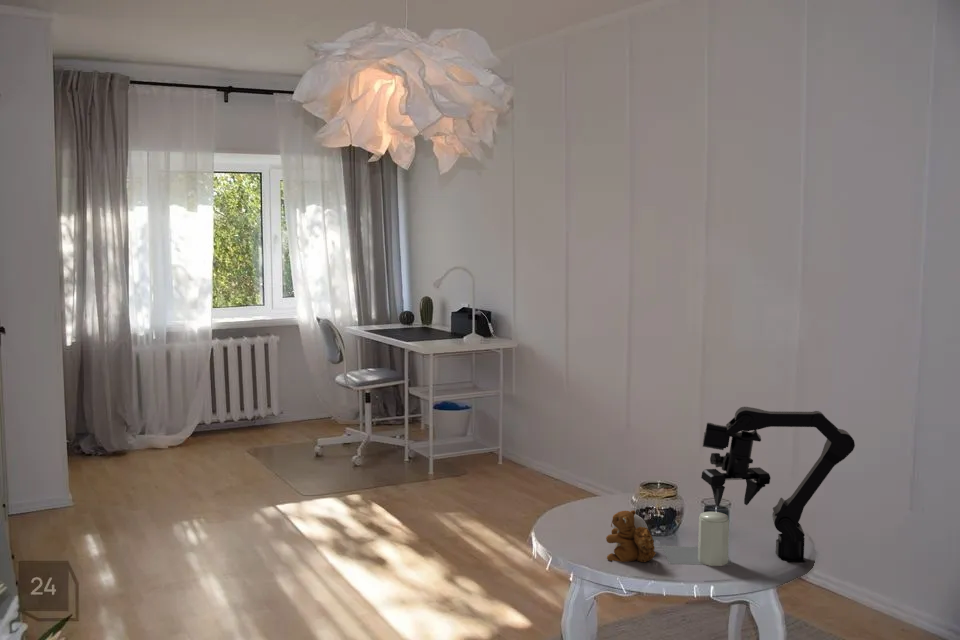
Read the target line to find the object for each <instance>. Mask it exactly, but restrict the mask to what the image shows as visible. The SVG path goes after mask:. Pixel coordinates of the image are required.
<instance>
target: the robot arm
mask: <svg viewBox="0 0 960 640" xmlns="http://www.w3.org/2000/svg"><path fill="white" fill-rule="evenodd" d="M771 427H773V428H775V427H777V428H781V427H782V428H816V429H817V430H818V431H819V433H821V434H822V435H823V436H824V437H825V438H826V440H825V442H824V445H823V448H822V451H821V454H820V456H819V458H818V459H817V460H816V462H815V463H814V464H813V466H812V467H811V469H810V470H809V471H808V472H807V474H806V475H805V477H804V478H803V479H802V481H800V482H801V483H799V485H798V487H796V489H795V490H794V492H793V493H792V494H791V495H790V496H789V497H788V498H787V499H784V498H783V497H779V500H778V502H777V504H776V505H775V506H774V507H772V510H773V512H772V516H771V517H772V522H773V524H774V527H775V529H776V530H777V531H778V532H780V533H777V534H778V535H777V538H778V539H777V538H776V539H775V555H776V556H777V557H778V558H779V559H780V560H781V561H782V562H783V561H784V562H789V563H790V562H792V563H793V562H795V563H797V562H798V563H806V561H807V560H806V558H805V539H806V538H805V533H804V530H803V527H802V525H801V523H800V520H801V517H802V515H803V511H804V508H805V507H806V505H807V504H808V502H809V501H810V500H811V498H813V495H814V494H815V493H816V491H817V490H818V489H819V488H820V486H821V485H822V483H823V482H824V481H825V480H826V478H827V476H828V475H830V473H831V471H832V470H833V469H834V467H835V466H836V465H838V464H839V463H840V462H842V461H843V460H845V459H846V458H847V457H848V456H849V455H850V454H851V453H853V451H854V450H855V446H856V444H855V440H854V439H853V437H852V435H851V434H850V433H849V432H848V431H847V430H845V429H841V428H838V427H837V425H835V424H834V423H832V421H830V420H829V419H828V418H827V417H826V416H825V414H823V412H822V411H821V410H820V411H819V410H813V411H775V410H774V411H772V410H771V411H769V410H764V409H760V408H757V407H750V406H742V407H741V406H740V407H739V408H738V409H737V410H736V411H735V413H734V417H733V418H732V419H731V420H729V422H727V423H726V424H725V425H720V424H716V423H712V422H707V423H706V427H705V431H704V432H703V438H702V439H703V440H702V448H708V449H709V448H710V449H714V450H718V451H719V450H720V451H724V449H727V448H728V447H729V445H730V447H729V451H728V452H726V453H725V455H721V454H720V452H711V453H710V457H709V461H710V464H711V465H714V466H715V468H710V469H709V468H706V469H704V470H703V471H702V472H701V477H700V478H701V479H702V480H703V481H704V482H706V483H707V484H708V485H709V486H710V487H711V491H712V495H713V499H714V504H715V506H716V507H719V506H720V505H721V502H722V499H723V495H724V493H725V489H726V486H724V485H725V484H726V481H738V480H740V481H742V480H744V481H746V488H745V493H744V497H743V498H744V500H743V503H744V505H745V506H748V505H749V503H751V501H752V500H753V499H754V497H755V496H756V495H757V494H758V493H759V492H760V490H762V489H763V488H765V487H766V485H770V484H771V479H772V478H771V474H770V473H769V472H767V471H765V470H764V469H763V468H761V467H758V466H757V467H750V464H753V463H754V459H752V458H751V457H752V451H753V450H752V449H753V447H754V446H753V445H754V441H755V442H761V441H762V438H761V435H760V434H759V432H758V430H762V429H766V428H771ZM730 437H731V441H730ZM716 468H721V470H722V471H725V472H721V471H719V470H718V469H716Z"/></svg>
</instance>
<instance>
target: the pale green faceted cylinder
mask: <svg viewBox="0 0 960 640" xmlns="http://www.w3.org/2000/svg"><path fill="white" fill-rule="evenodd" d="M697 536H698V539H697V542H698V543H697V547H698V560H699V562H700V563H703V564H706V565H705V566H709V567H722V566H726V565H725V564H727V563H728V557H729V546H730V545H729V543H730V542H729V540H730V539H729V537H730V520H729V516H728V515H727V514H725V513H724V512H718V511H704V512H701V513H700V514H699V516H698V535H697Z"/></svg>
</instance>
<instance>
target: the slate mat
mask: <svg viewBox="0 0 960 640" xmlns="http://www.w3.org/2000/svg"><path fill="white" fill-rule="evenodd" d="M661 547H662V550H663V553H664V554H665V557H666V559H667V562H668V565H669V564H670V565H691V566H692V565H693V566H694V565H697V566H699V565H700V566H707V565H706V564H703V563H700V562H699V560H698V546H678V545H675V546H674V545H671V546H668V545H662V546H661ZM724 566H730V567H734V563H733V562H732V560H731V558H730V557H729V556H728V563H727V564H725V565H724Z"/></svg>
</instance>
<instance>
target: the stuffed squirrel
mask: <svg viewBox="0 0 960 640" xmlns="http://www.w3.org/2000/svg"><path fill="white" fill-rule="evenodd" d="M635 514H636V510H633V509H631V510H630V511H629V510H621V511H618V512H616V513H614V514H613V516H612V519H611V524H610V527H611V528H612V529H611V534H608V535H607V536H606V537H605V539H606V541H605V542H607V543H609V544H615V548H614V549H613V553H609V554H607V556H606V559H607V561H610V562H613V561H615V562H621V563H626V562H627V563H629V562H635V561H637V562H640V563H646V562H650V561H651V560H652V559H654V558H655V555H656V554H657V553H656V551H655V548H656V547H655V544H654V542H655V540H654V539H653V535H651V531H650V530H649V527H648V528H645V527H638V528H636V527H635V525H634V515H635ZM614 526H615V527H616V528H614V529H613V527H614Z"/></svg>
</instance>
